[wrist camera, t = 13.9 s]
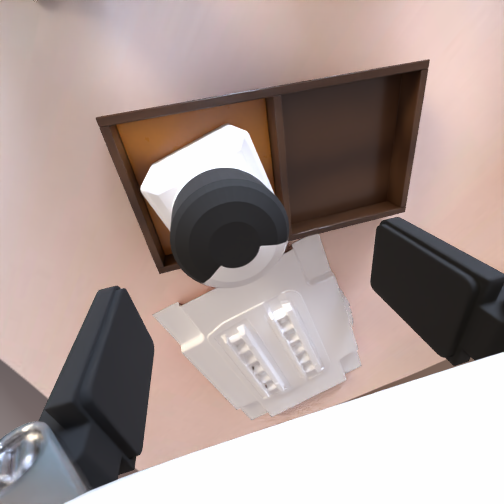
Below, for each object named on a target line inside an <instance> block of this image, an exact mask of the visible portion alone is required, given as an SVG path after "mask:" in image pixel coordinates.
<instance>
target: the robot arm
mask: <svg viewBox="0 0 504 504" xmlns="http://www.w3.org/2000/svg"><path fill="white" fill-rule="evenodd" d="M370 283H371V286H372V288H373V290H374V291H375V292H376V293H377V294H378V295H379V296H380V297H381V298H382V299H383V300H384V301H385V302H386V303H387V304H388V305H389V306H390V307H391V308H392V309H393V310H394V311H395V312H396V313H397V314H398V315H399V316H400V317H401V318H402V319H403V320H404V321H405V322H406V323H407V324H408V325H409V326H410V327H411V328H412V329H413V330H414V331H415V332H416V333H417V334H418V335H419V336H420V337H421V338H422V339H423V340H424V341H425V342H426V343H427V344H428V345H429V346H430V347H431V348H432V349H433V350H434V351H435V352H436V353H437V354H438V355H440V356H441V357H445V358H446V359H447V360H448V361H450V363H451V364H452V365H454V366H456V365H459V364H462V363H465V362H468V361H469V359H470V357H471V358H473V359H474V360H475V361H473V362H470V363H467V364H464V365H461V366H457V367H454V368H451V369H448V370H445V371H442V372H438V373H435V374H432V375H429V376H426V377H423V378H420V379H416V380H414V381H410V382H407V383H404V384H401V385H398V386H395V387H392V388H388V389H386V390H382V391H379V392H376V393H373V394H370V395H367V396H364V397H361V398H358V399H355V400H352V401H348V402H345V403H342V404H339V405H336V406H333V407H330V408H327V409H324V410H321V411H318V412H315V413H312V414H308V415H305V416H302V417H299V418H296V419H293V420H290V421H287V422H284V423H281V424H278V425H275V426H272V427H269V428H266V429H263V430H260V431H257V432H254V433H251V434H248V435H245V436H242V437H239V438H236V439H233V440H230V441H227V442H224V443H221V444H218V445H215V446H212V447H209V448H206V449H203V450H199V451H196V452H194V453H191V454H188V455H185V456H182V457H179V458H176V459H174V460H171V461H168V462H165V463H162V464H159V465H156V466H154V467H151V468H148V469H145V470H142V471H139V472H137V473H134V474H131V475H128V476H125V477H123V478H120V479H118V475H120V474H123V473H126V472H129V471H132V470H134V469H135V461H136V456H138V455H140V454H141V452H142V448H143V440H144V432H145V423H146V415H147V407H148V398H149V390H150V382H151V374H152V365H153V357H154V344H153V341H152V338H151V337H150V335H149V333H148V331H147V329H146V327H145V325H144V323H143V321H142V319H141V317H140V315H139V313H138V311H137V309H136V307H135V305H134V303H133V301H132V300H131V298H130V296H129V294H128V292H127V290H126V289H124V288H123V289H120V287H119V286H113V287H109V288H105V289H101V290H98V292H97V294H96V296H95V298H94V300H93V303H92V305H91V307H90V309H89V311H88V314H87V316H86V318H85V320H84V322H83V325H82V327H81V329H80V331H79V333H78V336H77V338H76V340H75V342H74V344H73V346H72V348H71V351H70V353H69V355H68V357H67V359H66V362H65V364H64V366H63V368H62V370H61V373H60V375H59V377H58V379H57V381H56V384H55V386H54V388H53V390H52V392H51V395H50V397H49V399H48V401H47V403H46V406H45V408H44V410H43V412H42V414H41V417H40V419H39V421H35V422H30V423H26V424H24V425H22V426H20V427H18V428H16V429H14V430H13V431H11V432H10V433H9V434H7V435H5V436H4V437H3V438H2V439H0V504H504V274H503V273H502V272H500V271H498V270H496V269H494V268H492V267H490V266H489V265H487V264H485V263H483V262H481V261H479V260H478V259H476V258H474V257H472V256H470V255H468V254H466V253H465V252H463V251H461V250H459V249H457V248H455V247H453V246H452V245H450V244H448V243H446V242H444V241H442V240H441V239H439V238H437V237H435V236H433V235H431V234H429V233H428V232H426V231H424V230H422V229H420V228H418V227H416V226H415V225H413V224H411V223H409V222H407V221H405V220H404V219H402V218H399V217H395V218H391V219H387V220H383V221H382V222H381V223H380V225H379V226H378V227H377V229H376V236H375V245H374V254H373V263H372V271H371V280H370Z"/></svg>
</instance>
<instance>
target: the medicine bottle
mask: <svg viewBox="0 0 504 504" xmlns="http://www.w3.org/2000/svg"><path fill="white" fill-rule="evenodd" d="M140 190H141V193H142V194H143V195H144V197H145V198H146V200H147V201H148V202H149V204H150V205H151V206H152V208H153V209H154V210H155V212H156V213H157V214H158V216H159V217H160V219H161V220H162V221H163V223H164V224H165V225H166V227H167V228H168V229H169V231H170V245H171V250H172V253H173V256H174V258H175V260H176V262H177V264H178V265H179V266H180V268H181V269H182V270H183V271H184V272H185V273H186V274H187V275H188V276H189V277H191V278H192V279H194V280H195V281H197V282H199V283H202V284H204V285H207V286H211V287H216V288H234V287H240V286H244V285H247V284H250V283H252V282H254V281H256V280H258V279H260V278H261V277H263V276H264V275H266V274H267V273H268V272H269V271H271V270H272V268H273V267H274V266H275V265H276V264H277V263H278V261H279V260H280V259H281V257H282V255H283V253H284V251H285V249H286V246H287V243H288V239H289V221H288V216H287V213H286V210H285V208H284V206H283V205H282V203H281V202H280V200H279V199H278V198H277V197H276V196H275V194H274V192H273V189H272V187H271V185H270V182H269V180H268V178H267V175H266V173H265V171H264V168H263V166H262V164H261V161H260V159H259V157H258V154H257V152H256V150H255V147H254V145H253V143H252V140H251V138H250V136H249V134H248V132H247V131H245V130H242V129H240V128H237V127H235V126H232V125H230V124H227V123H226V124H223V125H222V126H220V127H218V128H216V129H214V130H213V131H211V132H209V133H207V134H205V135H203V136H202V137H200V138H198V139H196V140H194V141H193V142H191V143H189V144H187V145H185V146H184V147H182V148H180V149H178V150H176V151H174V152H173V153H171V154H169V155H167V156H165V157H164V158H162V159H160V160H158V161H156V162H155V163H153V164H152V165H151V167H150V169H149V171H148V173H147V175H146V177H145V179H144V181H143V183H142V185H141V189H140Z"/></svg>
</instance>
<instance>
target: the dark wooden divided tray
mask: <svg viewBox="0 0 504 504" xmlns="http://www.w3.org/2000/svg"><path fill="white" fill-rule="evenodd" d="M429 61H430V60H429V59H428V60H423V61H417V62H411V63H405V64H400V65H394V66H388V67H382V68H377V69H371V70H365V71H359V72H354V73H348V74H342V75H336V76H331V77H325V78H319V79H314V80H308V81H302V82H296V83H291V84H285V85H279V86H273V87H268V88H262V89H256V90H250V91H245V92H239V93H233V94H227V95H222V96H216V97H210V98H204V99H199V100H193V101H187V102H181V103H176V104H170V105H164V106H159V107H153V108H147V109H141V110H136V111H130V112H124V113H118V114H113V115H107V116H101V117H96V120H97V123H98V125H99V127H100V130H101V133H102V135H103V138H104V140H105V143H106V145H107V147H108V150H109V152H110V155H111V157H112V160H113V162H114V165H115V167H116V169H117V172H118V174H119V177H120V179H121V182H122V184H123V186H124V189H125V191H126V194H127V196H128V199H129V201H130V204H131V206H132V208H133V211H134V213H135V216H136V218H137V221H138V223H139V225H140V228H141V230H142V233H143V235H144V238H145V240H146V243H147V245H148V247H149V250H150V252H151V255H152V257H153V260H154V262H155V264H156V267H157V268H158V272H159V274H161V273H165V272H169V271H173V270H177V269H181V268H180V266H179V265H178V264H177V262H176V260H175V258H174V256H173V253H172V250H171V245H170V231H169V229H168V228H167V227H166V225H165V224H164V223H163V221H162V220H161V219H160V217H159V216H158V214H157V213H156V212H155V210H154V209H153V208H152V206H151V205H150V204H149V202H148V201H147V200H146V198H145V197H144V195H143V194H142V193H141V190H140V189H141V185H142V183H143V181H144V179H145V177H146V175H147V173H148V171H149V169H150V167H151V165H152V164H153V163H155V162H156V161H158V160H160V159H162V158H164V157H165V156H167V155H169V154H171V153H173V152H174V151H176V150H178V149H180V148H182V147H184V146H185V145H187V144H189V143H191V142H193V141H194V140H196V139H198V138H200V137H202V136H203V135H205V134H207V133H209V132H211V131H213V130H214V129H216V128H218V127H220V126H222V125H223V124H226V123H227V124H230V125H232V126H235V127H237V128H240V129H242V130H245V131H247V132H248V134H249V136H250V138H251V140H252V143H253V145H254V147H255V150H256V152H257V154H258V157H259V159H260V161H261V164H262V166H263V168H264V171H265V173H266V175H267V178H268V180H269V182H270V185H271V187H272V189H273V192H274V194H275V196H276V197H277V198H278V199H279V200H280V202H281V203H282V205H283V206H284V208H285V210H286V213H287V216H288V221H289V239H288V241H292V240H296V239H300V238H304V237H308V236H311V235H315V234H319V233H323V232H327V231H331V230H335V229H339V228H343V227H347V226H351V225H355V224H359V223H363V222H367V221H371V220H375V219H379V218H383V217H387V216H391V215H395V214H399V213H402V212H405V208H406V207H405V206H406V202H407V196H408V190H409V184H410V177H411V171H412V165H413V159H414V153H415V147H416V141H417V135H418V128H419V122H420V116H421V110H422V104H423V98H424V92H425V86H426V80H427V73H428V67H429Z"/></svg>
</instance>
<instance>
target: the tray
mask: <svg viewBox="0 0 504 504" xmlns="http://www.w3.org/2000/svg"><path fill="white" fill-rule="evenodd" d="M292 247H293V249H292V250H290V251H289V252H287V253H285V254H283V255H282V257H281V259H280V260H279V261H278V263H277V264H276V265H275V266H274V267H273V268H272V270H271V271H269V272H268V273H267V274H266V275H264V276H263V277H261V278H260V279H258V280H256V281H254V282H252V283H250V284H247V285H244V286H240V287H234V288H215V289H213V290H211V291H209V292H207V293H206V294H204V295H202V296H200V297H198V298H196V299H194V300H192V301H190V302H188V303H186V304H184V305H182V306H181V305H180V304H179V303H178V302H176V303H175V304H172V305H170V306H169V307H167V308H165V309H163V310H161V311H159V312H157V313H155V314H153V316H154V317H155V319H156V320H157V321H158V322H159V323H160V324H161V325H162V326H163V327H164V328H165V329H166V330H167V331H168V332H169V333H170V334H171V336H172V337H173V338H174V339H175V340H176V341H177V342H178V343H179V344H180V345H181V352H182V353H183V355H184V356H185V357H186V358H187V359H188V360H189V361H190V362H191V363H192V364H193V365H194V366H195V367H196V368H197V369H198V370H199V371H200V372H201V373H202V374H203V375H204V376H205V377H206V378H207V379H208V380H209V381H210V383H212V384H213V385H214V387H215V388H216V389H217V390H218V391H219V392H220V393H221V394H222V395H223V396H224V397H225V398H226V399H227V400H228V401H229V402H230V403H231V404H232V405H233V406H234V407H235V408H236V409H241V410H242V411H243V412H244V413H245V414H246V415H247V416H248V417H249V418H250V419H251V420H254V419H255V418H257V417H259V416H261V415H263V414H265V413H267V412H268V413H269V415H270V416H271V417H273V416H275V415H277V414H279V413H281V412H283V411H285V410H287V409H289V408H291V407H293V406H295V405H297V404H299V403H301V402H303V401H305V400H307V399H309V398H311V397H313V396H315V395H317V394H319V393H321V392H323V391H325V390H327V389H329V388H331V387H333V386H335V385H337V384H339V383H341V382H343V381H345V380H346V377H345V374H346V373H348V372H350V371H352V370H354V369H356V368H358V367H360V366H362V365H361V362H360V359H359V356H358V352H357V350H358V346H357V343H356V340H355V337H354V334H353V331H352V327H351V325H352V324H353V318H352V315H351V309H350V307H349V303H348V300H347V299H346V298H345V296H344V293H343V292H342V291H341V290H340V288H339V287H338V284H337V280H336V277H335V275H334V274H333V272H332V271H331V269H330V266H329V263H328V260H327V257H326V254H325V251H324V248H323V245H322V242H321V239H320V236H319V234H315V235H311V236H308V237H305V238H303V239H301V240H299V241H297V242H295V243H293V244H292ZM342 293H343V294H342ZM346 311H347V312H346ZM347 314H348V315H347ZM349 320H350V321H349ZM350 323H351V324H350ZM352 326H353V325H352ZM252 367H254V370H253V368H252ZM265 384H266V385H267V388H266V387H265Z"/></svg>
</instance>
